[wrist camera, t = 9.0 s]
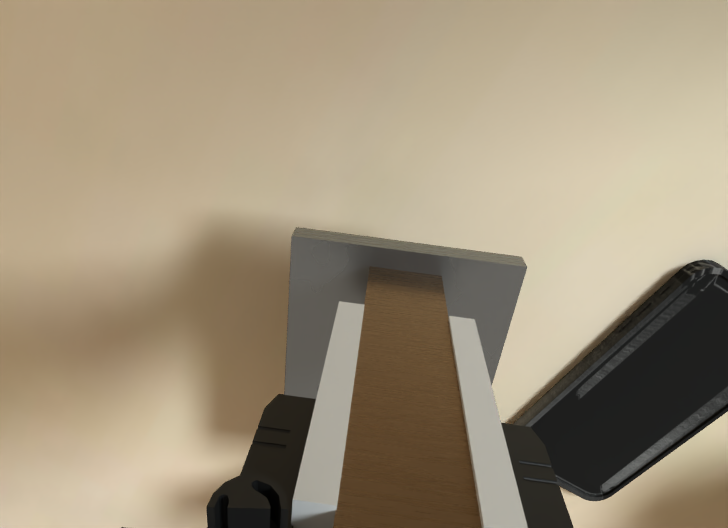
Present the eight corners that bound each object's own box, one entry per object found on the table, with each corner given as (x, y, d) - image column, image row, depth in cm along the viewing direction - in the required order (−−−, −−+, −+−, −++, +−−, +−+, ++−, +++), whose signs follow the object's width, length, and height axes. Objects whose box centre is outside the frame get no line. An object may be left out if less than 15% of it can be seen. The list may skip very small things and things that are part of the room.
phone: (825, 339, 22) (597, 506, 29) (807, 326, 23) (590, 490, 30) (708, 256, 21) (494, 451, 27) (694, 246, 22) (491, 436, 28)
